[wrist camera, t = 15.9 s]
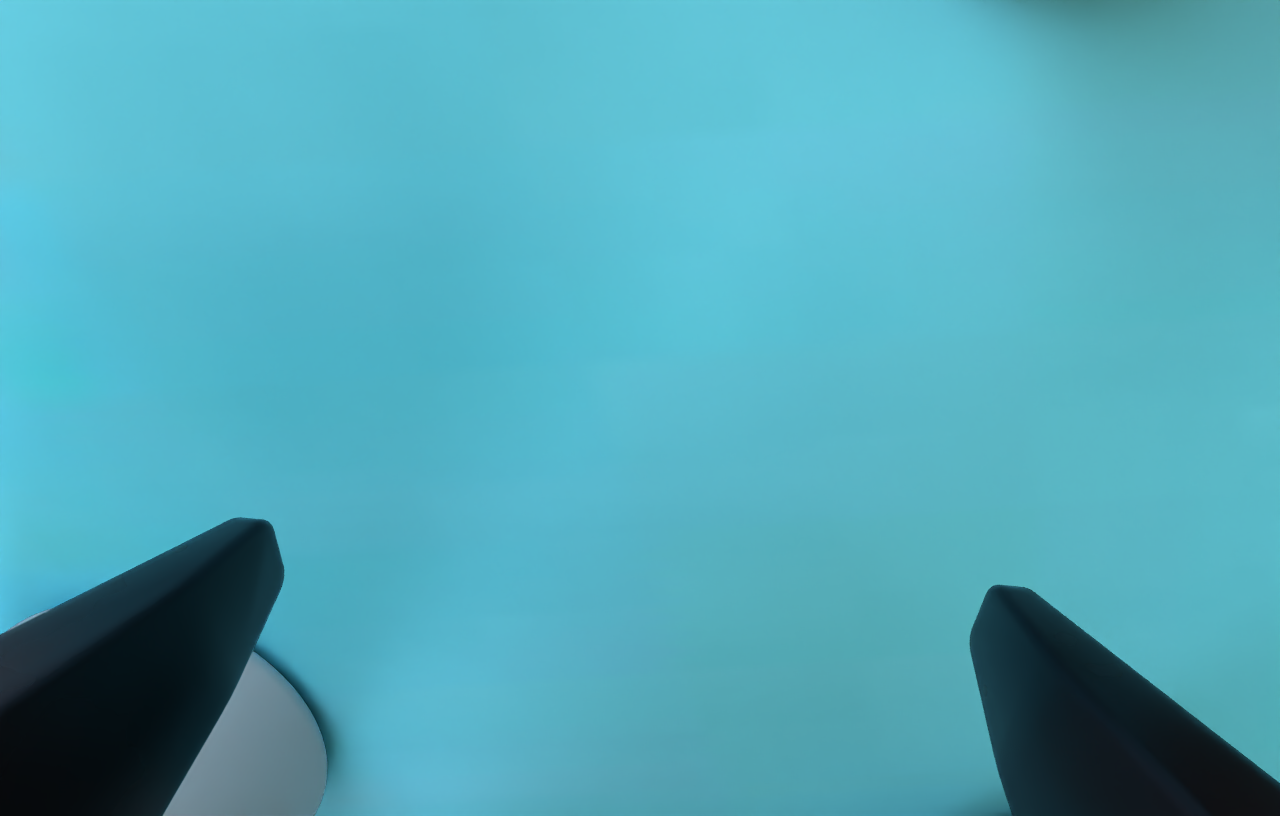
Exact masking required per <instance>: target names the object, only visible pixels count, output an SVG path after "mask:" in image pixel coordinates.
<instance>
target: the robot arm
mask: <svg viewBox="0 0 1280 816" xmlns="http://www.w3.org/2000/svg"><path fill="white" fill-rule="evenodd" d="M283 580H284V566H283V562H282V559H281V555H280V551H279V547H278V544H277V540H276V536H275V532H274V529H273V526H272V525H271V524H270V523H269V522H268V521H266V520H263V519H251V518H233V519H231V520H228V521H226V522H224V523H222V524H220V525H218V526H216V527H214V528H212V529H210V530H208V531H206V532H204V533H202V534H200V535H198V536H196V537H194V538H192V539H190V540H188V541H186V542H184V543H182V544H180V545H178V546H176V547H174V548H172V549H170V550H168V551H166V552H164V553H162V554H160V555H158V556H156V557H154V558H152V559H150V560H148V561H146V562H144V563H142V564H140V565H138V566H136V567H134V568H132V569H130V570H128V571H126V572H124V573H122V574H120V575H118V576H116V577H114V578H112V579H110V580H108V581H106V582H104V583H102V584H100V585H98V586H96V587H94V588H92V589H90V590H88V591H86V592H84V593H82V594H80V595H78V596H76V597H74V598H72V599H70V600H68V601H66V602H64V603H62V604H60V605H58V606H56V607H54V608H52V609H50V610H48V611H46V612H44V613H42V614H40V615H38V616H36V617H34V618H32V619H30V620H28V621H26V622H24V623H22V624H20V625H18V626H16V627H14V628H12V629H10V630H8V631H6V632H4V633H2V634H0V816H163V814H164V813H165V811H166V809H167V808H168V806H169V804H170V802H171V801H172V799H173V797H174V795H175V794H176V792H177V790H178V789H179V787H180V785H181V783H182V782H183V780H184V778H185V777H186V775H187V773H188V771H189V770H190V768H191V766H192V765H193V763H194V761H195V759H196V758H197V756H198V754H199V753H200V751H201V749H202V747H203V746H204V744H205V742H206V741H207V739H208V737H209V735H210V734H211V732H212V730H213V728H214V727H215V725H216V723H217V722H218V720H219V718H220V716H221V715H222V713H223V711H224V709H225V707H226V706H227V704H228V702H229V700H230V698H231V697H232V694H233V692H234V690H235V688H236V686H237V684H238V682H239V680H240V678H241V676H242V674H243V671H244V669H245V667H246V665H247V663H248V660H249V658H250V656H251V654H252V652H253V649H254V647H255V645H256V643H257V641H258V638H259V636H260V634H261V632H262V630H263V627H264V625H265V623H266V621H267V618H268V616H269V614H270V612H271V610H272V607H273V605H274V603H275V601H276V599H277V596H278V594H279V592H280V590H281V587H282V584H283ZM970 651H971V656H972V661H973V665H974V669H975V674H976V678H977V683H978V687H979V691H980V696H981V700H982V705H983V709H984V713H985V718H986V722H987V727H988V731H989V735H990V740H991V744H992V749H993V753H994V757H995V761H996V765H997V769H998V772H999V776H1000V779H1001V782H1002V785H1003V788H1004V791H1005V795H1006V797H1007V800H1008V803H1009V806H1010V809H1011V812H1012V815H1013V816H1280V783H1279V782H1278V781H1276V780H1275V779H1274V778H1272V777H1271V776H1270V775H1269V774H1267V773H1266V772H1265V771H1263V770H1262V769H1261V768H1260V767H1258V766H1257V765H1256V764H1254V763H1253V762H1252V761H1251V760H1249V759H1248V758H1247V757H1245V756H1244V755H1243V754H1242V753H1240V752H1239V751H1238V750H1236V749H1235V748H1234V747H1233V746H1231V745H1230V744H1229V743H1227V742H1226V741H1225V740H1224V739H1222V738H1221V737H1220V736H1218V735H1217V734H1216V733H1215V732H1213V731H1212V730H1211V729H1209V728H1208V727H1207V726H1206V725H1204V724H1203V723H1202V722H1201V721H1199V720H1198V719H1197V718H1195V717H1194V716H1193V715H1192V714H1190V713H1189V712H1188V711H1186V710H1185V709H1184V708H1183V707H1181V706H1180V705H1179V704H1177V703H1176V702H1175V701H1174V700H1172V699H1171V698H1170V697H1168V696H1167V695H1166V694H1165V693H1163V692H1162V691H1161V690H1159V689H1158V688H1157V687H1156V686H1154V685H1153V684H1152V683H1150V682H1149V681H1148V680H1147V679H1145V678H1144V677H1143V676H1141V675H1140V674H1139V673H1138V672H1136V671H1135V670H1134V669H1132V668H1131V667H1130V666H1129V665H1127V664H1126V663H1125V662H1123V661H1122V660H1121V659H1120V658H1118V657H1117V656H1116V655H1114V654H1113V653H1112V652H1111V651H1109V650H1108V649H1107V648H1105V647H1104V646H1103V645H1102V644H1100V643H1099V642H1098V641H1096V640H1095V639H1094V638H1093V637H1091V636H1090V635H1089V634H1087V633H1086V632H1085V631H1084V630H1082V629H1081V628H1080V627H1078V626H1077V625H1076V624H1075V623H1073V622H1072V621H1071V620H1069V619H1068V618H1067V617H1066V616H1064V615H1063V614H1062V613H1060V612H1059V611H1058V610H1057V609H1055V608H1054V607H1053V606H1051V605H1050V604H1049V603H1048V602H1046V601H1045V600H1044V599H1042V598H1041V597H1040V596H1039V595H1037V594H1036V593H1035V592H1033V591H1032V590H1030V589H1028V588H1025V587H1018V586H1007V585H995V586H992V587H991V588H990V589H989V590H988V591H987V593H986V595H985V598H984V600H983V603H982V605H981V608H980V610H979V613H978V615H977V617H976V620H975V622H974V625H973V627H972V630H971V634H970Z"/></svg>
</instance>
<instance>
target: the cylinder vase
mask: <svg viewBox="0 0 1280 816" xmlns="http://www.w3.org/2000/svg"><path fill="white" fill-rule="evenodd" d="M49 610H50V609H49ZM46 611H48V610H46ZM46 611H43V612H40V613H38V614H35V615H33V616H31V617H29V618H27V619H25V620H23V621H21V622H20V623H18V624H16V625H15V626H13V627H12V628H14V627H16V626H18V625H20V624H22V623H24V622H26V621H28V620H30V619H32V618H34V617H36V616H38V615H40V614H42V613H44V612H46ZM12 628H10V629H12ZM10 629H9V630H10ZM326 782H327V755H326V749H325V745H324V741H323V737H322V735H321V732H320V729H319V727H318V725H317V722H316V720H315V718H314V716H313V715H312V713H311V711H310V709H309V708H308V706H307V705H306V703H305V702H304V700H303V699H302V697H301V696H300V695H299V693H298V692H297V691H296V690H295V689H294V687H293V686H292V685H291V684H290V683H289V682H288V681H287V680H286V679H285V678H284V677H283V676H282V675H281V674H280V673H279V672H278V671H277V670H276V669H275V668H274V667H273V666H272V665H271V664H269V663H268V662H267V661H266V660H265V659H263V658H262V657H261V656H259V655H258V654H257V653H255V652H254V651H253V652H252V654H251V656H250V658H249V660H248V663H247V665H246V667H245V669H244V671H243V674H242V676H241V678H240V680H239V682H238V684H237V686H236V688H235V690H234V692H233V694H232V697H231V698H230V700H229V702H228V704H227V706H226V707H225V709H224V711H223V713H222V715H221V716H220V718H219V720H218V722H217V723H216V725H215V727H214V728H213V730H212V732H211V734H210V735H209V737H208V739H207V741H206V742H205V744H204V746H203V747H202V749H201V751H200V753H199V754H198V756H197V758H196V759H195V761H194V763H193V765H192V766H191V768H190V770H189V771H188V773H187V775H186V777H185V778H184V780H183V782H182V783H181V785H180V787H179V789H178V790H177V792H176V794H175V795H174V797H173V799H172V801H171V802H170V804H169V806H168V808H167V809H166V811H165V813H164V814H163V816H314V815H315V813H316V811H317V809H318V807H319V805H320V803H321V801H322V798H323V795H324V791H325V787H326Z"/></svg>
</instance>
